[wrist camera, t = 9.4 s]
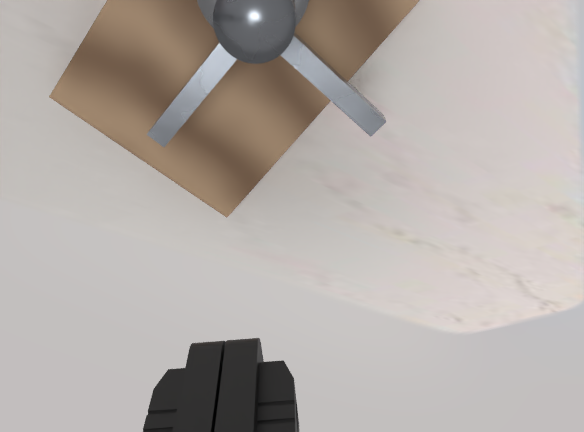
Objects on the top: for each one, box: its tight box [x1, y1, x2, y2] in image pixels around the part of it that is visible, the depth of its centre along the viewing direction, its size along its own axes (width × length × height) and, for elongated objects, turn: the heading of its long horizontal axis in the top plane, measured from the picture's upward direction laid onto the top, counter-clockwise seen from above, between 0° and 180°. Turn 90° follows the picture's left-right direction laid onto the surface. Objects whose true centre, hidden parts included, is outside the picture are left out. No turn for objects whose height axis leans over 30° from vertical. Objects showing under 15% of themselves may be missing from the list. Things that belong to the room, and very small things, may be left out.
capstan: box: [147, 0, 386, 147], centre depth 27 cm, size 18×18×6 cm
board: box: [49, 0, 419, 217], centre depth 32 cm, size 20×14×2 cm
